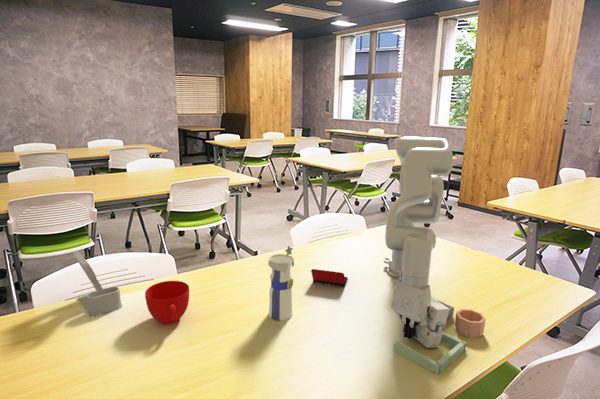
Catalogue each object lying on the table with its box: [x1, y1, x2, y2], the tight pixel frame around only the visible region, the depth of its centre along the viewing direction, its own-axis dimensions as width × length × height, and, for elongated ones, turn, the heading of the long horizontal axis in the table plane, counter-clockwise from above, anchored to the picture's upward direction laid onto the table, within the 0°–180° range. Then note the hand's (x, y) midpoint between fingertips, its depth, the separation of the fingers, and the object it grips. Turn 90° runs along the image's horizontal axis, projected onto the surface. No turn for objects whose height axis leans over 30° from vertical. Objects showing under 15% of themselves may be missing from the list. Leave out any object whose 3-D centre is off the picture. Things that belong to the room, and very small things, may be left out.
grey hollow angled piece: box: [72, 250, 123, 317], centre depth 128 cm, size 17×10×18 cm, turn 41°
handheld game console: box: [310, 268, 349, 288], centre depth 147 cm, size 12×11×7 cm
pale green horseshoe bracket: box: [392, 331, 467, 376], centre depth 108 cm, size 13×15×2 cm
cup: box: [454, 308, 486, 339], centre depth 117 cm, size 8×8×5 cm
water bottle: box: [267, 244, 295, 321], centre depth 122 cm, size 8×9×25 cm
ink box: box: [413, 296, 449, 349], centre depth 111 cm, size 9×5×12 cm, turn 25°
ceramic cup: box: [144, 280, 190, 325], centre depth 119 cm, size 13×17×10 cm
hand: (408, 336), depth 112 cm, fingers closed
